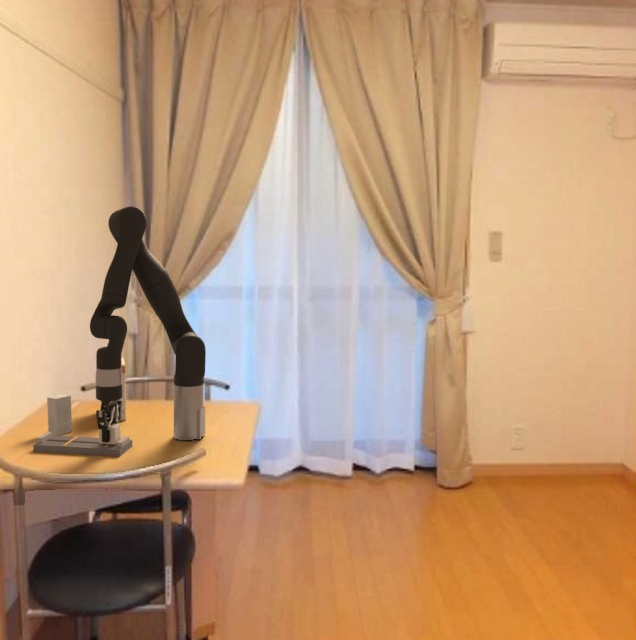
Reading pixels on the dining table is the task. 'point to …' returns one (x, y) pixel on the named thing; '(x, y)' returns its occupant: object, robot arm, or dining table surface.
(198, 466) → the dining table surface
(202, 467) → the dining table surface
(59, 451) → the fader board
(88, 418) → the dining table surface
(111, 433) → the fader knob
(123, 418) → the coffeecake box
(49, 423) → the skincare box
